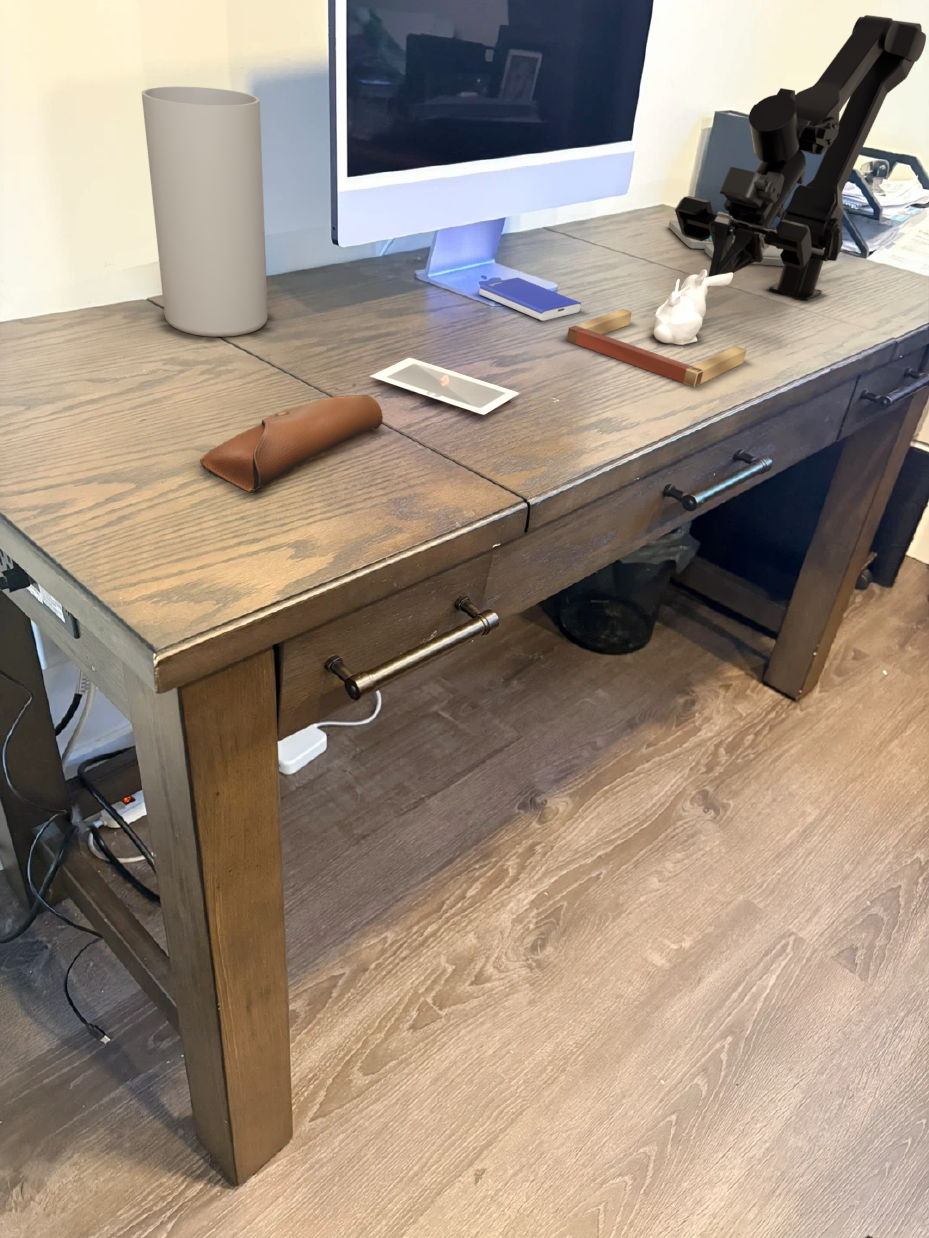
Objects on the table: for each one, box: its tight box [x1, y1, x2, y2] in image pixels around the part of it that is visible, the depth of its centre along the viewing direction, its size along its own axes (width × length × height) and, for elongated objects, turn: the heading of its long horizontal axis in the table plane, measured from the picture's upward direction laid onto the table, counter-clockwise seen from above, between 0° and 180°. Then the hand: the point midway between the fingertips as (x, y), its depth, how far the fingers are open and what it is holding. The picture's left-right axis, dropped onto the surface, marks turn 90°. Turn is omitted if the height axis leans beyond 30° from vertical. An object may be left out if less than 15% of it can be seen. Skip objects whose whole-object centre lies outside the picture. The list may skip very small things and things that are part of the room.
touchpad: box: [369, 357, 520, 416], centre depth 104 cm, size 8×15×2 cm, turn 58°
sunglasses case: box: [199, 394, 384, 493], centre depth 89 cm, size 18×7×7 cm, turn 147°
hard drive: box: [478, 277, 582, 322], centre depth 133 cm, size 2×8×12 cm
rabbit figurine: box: [653, 268, 734, 346], centre depth 124 cm, size 12×8×10 cm, turn 138°
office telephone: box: [668, 219, 784, 267], centre depth 170 cm, size 23×3×20 cm
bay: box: [566, 308, 747, 388], centre depth 121 cm, size 13×19×2 cm
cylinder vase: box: [141, 86, 269, 338], centre depth 110 cm, size 12×12×25 cm
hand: (710, 283), depth 125 cm, fingers closed
